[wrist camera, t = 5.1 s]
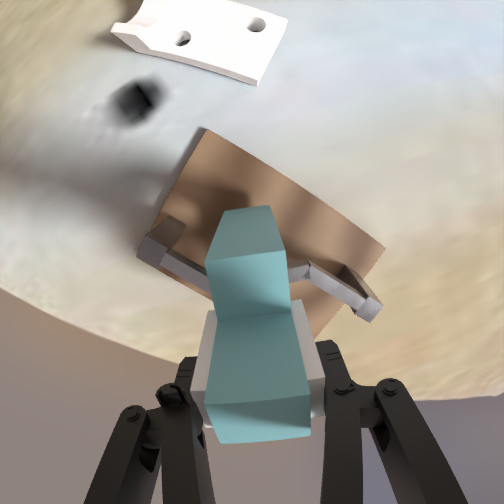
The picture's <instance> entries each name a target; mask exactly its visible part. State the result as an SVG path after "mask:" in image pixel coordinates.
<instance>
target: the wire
mask: <svg viewBox="0 0 504 504" xmlns="http://www.w3.org/2000/svg"><path fill="white" fill-rule="evenodd" d="M186 225H187V224H185V223H183V222H181V221H180V220H178V219H176V218H175V217H173V216H171V215H169V216H167V217H166V218H165V219H164V220H163V221H162V222H160V223H159V224H158V225H157V226H156V227H155V228H154V229H152V230H151V231H150V232H149V233H148V234H147V235H146V236H145V238H144V240H143V242H142V244H141V247H140V249H139V251H138V253H137V255H136V257H138V258H140V259H141V260H143V261H145V262H146V263H148V264H150V265H151V266H153V267H155V268H156V269H158V267H159V266H162V267H164V268H165V269H167V270H169V271H170V272H172V273H174V274H176V275H177V276H179V277H181V278H183V279H184V280H186V281H188V282H190V283H191V284H193V285H195V286H197V287H198V288H200V289H202V290H204V291H206V292H207V293H209V294H211V290H210V285H209V281H208V276H207V272H206V268H204V267H202V266H200V265H199V264H197V263H195V262H194V261H192V260H190V259H188V258H187V257H185V256H183V255H182V254H180V253H178V252H176V251H175V250H173V249H172V248H173V247H174V245H175V244H176V243H177V241H178V240H179V238H180V236H181V234H182V232H183V231H184V229H185V227H186ZM287 270H288V280H289V283H293V282H297V281H302V280H307V281H309V282H310V283H312V284H314V285H315V286H317V287H319V288H320V289H322V290H324V291H325V292H327V293H329V294H330V295H332V296H334V297H335V298H337V299H339V300H341V301H342V302H344V303H346V304H347V305H349V306H350V307H351V309H352V311H353V312H354V314H355V315H357V316H359V317H360V318H362V319H364V320H365V321H367V322H369V323H370V322H371V321H372V320H373V319H374V317H375V316H376V315H377V314H378V313H379V311H380V310H381V309H382V308H383V304H382V303H381V302H380V300H379V299H378V298H377V296H376V295H375V294H374V293H373V291H372V290H371V289H370V288H369V286H368V285H367V284H366V282H365V281H364V280H363V279H362V277H361V276H360V275H359V274H358V273H357V272H355V271H354V270H352V269H351V268H349V267H348V266H347V265H344V267H343V268H342V269H341V271H340V272H339V273H338V275H337V276H336V277H335V276H333V275H332V274H330V273H329V272H327V271H326V270H324V269H322V268H321V267H319V266H318V265H316V264H314V263H313V262H311V261H310V260H308V261H307V260H306V259H303V260H298V261H294V262H289V263H287ZM211 295H212V294H211Z"/></svg>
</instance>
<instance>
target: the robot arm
mask: <svg viewBox="0 0 504 504" xmlns="http://www.w3.org/2000/svg"><path fill="white" fill-rule="evenodd" d="M291 312H292V316H293V320H294V324H295V329H296V333H297V337H298V341H299V346H300V350H301V354H302V359H303V363H304V367H305V372H306V376H307V381H308V385H309V390H310V396H311V418H313V417H319V416H324V412H325V416H326V422H325V443H324V444H325V445H324V460H323V475H322V487H321V497H320V504H363V463H362V438H361V428H369V430H370V433H371V435H372V438H373V440H374V443H375V445H376V447H377V450H378V452H379V455H380V457H381V460H382V463H383V465H384V468H385V471H386V473H387V475H388V478H389V481H390V484H391V486H392V489H393V492H394V494H395V497H396V500H397V503H398V504H468V502H467V500H466V498H465V496H464V494H463V492H462V490H461V488H460V486H459V484H458V481H457V480H456V477H455V476H454V474H453V472H452V470H451V468H450V466H449V464H448V462H447V460H446V458H445V456H444V454H443V452H442V451H441V449H440V447H439V445H438V443H437V441H436V440H435V438H434V436H433V434H432V433H431V431H430V429H429V427H428V425H427V424H426V422H425V420H424V418H423V416H422V415H421V413H420V411H419V410H418V408H417V406H416V404H415V403H414V401H413V399H412V398H411V396H410V394H409V393H408V391H407V389H406V388H405V386H404V384H403V383H402V382H401V381H399V380H397V379H393V378H388V379H384V380H382V381H380V382H379V383H378V384H377V386H361V385H358V384H356V383H355V382H354V381H353V380H351V378H350V376H349V373H348V371H347V368H346V365H345V363H344V360H343V358H342V355H341V353H340V350H339V348H338V345H337V344H336V343H334V342H333V341H332V340H326V341H320V342H315V341H314V338H313V335H312V331H311V328H310V325H309V322H308V319H307V315H306V312H305V309H304V306H303V303H302V300H301V299H299V300H292V301H291ZM217 321H218V320H217V316H216V312H215V310H212V311H208V314H207V318H206V322H205V326H204V331H203V335H202V339H201V344H200V348H199V352H198V356H197V357H185V358H184V359H183V360H182V362H181V363H180V365H179V368H178V372H177V375H176V379H175V382H174V383H169V384H165V385H163V386H161V387H160V388H159V389H158V390H157V392H156V397H157V399H158V401H159V403H160V405H161V407H159V408H156V409H151V410H147V411H145V409H144V408H143V407H142V406H138V405H132V406H129V407H127V408H125V409H124V410H123V411H122V413H121V414H120V417H119V419H118V421H117V423H116V426H115V428H114V430H113V433H112V435H111V437H110V439H109V442H108V444H107V446H106V449H105V451H104V454H103V456H102V458H101V461H100V463H99V466H98V468H97V470H96V473H95V475H94V478H93V480H92V483H91V486H90V488H89V491H88V493H87V496H86V499H85V501H84V504H150V503H151V499H152V495H153V491H154V488H155V484H156V480H157V476H158V472H159V469H160V465H162V493H163V504H216V503H215V498H214V492H213V487H212V481H211V475H210V469H209V462H208V456H207V449H206V441H205V435H204V432H203V430H202V426H203V422H204V424H205V427H213V425H212V423H211V421H210V418H209V416H208V413H207V411H206V409H205V406H204V400H205V394H206V387H207V381H208V375H209V369H210V363H211V357H212V351H213V345H214V339H215V333H216V327H217Z"/></svg>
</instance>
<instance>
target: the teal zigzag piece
mask: <svg viewBox="0 0 504 504" xmlns="http://www.w3.org/2000/svg"><path fill="white" fill-rule="evenodd" d="M204 262H205V267H206V272H207V276H208V281H209V285H210V290H211V294H212V299H213V303H214V307H215V312H216V316H217V320H218V321H217V327H216V333H215V339H214V345H213V351H212V357H211V363H210V369H209V375H208V381H207V387H206V394H205V400H204V406H205V409H206V411H207V413H208V416H209V418H210V421H211V423H212V425H213V428H214V430H215V432H216V435H217V437H218V439H219V441H220V443H221V444H227V443H248V442H261V441H272V440H281V439H289V438H295V437H303V436H309V435H311V396H310V390H309V385H308V381H307V376H306V372H305V367H304V363H303V359H302V354H301V350H300V346H299V341H298V337H297V333H296V329H295V324H294V320H293V316H292V312H291V301H290V290H289V280H288V270H287V260H286V251H285V248H284V245H283V242H282V239H281V236H280V233H279V230H278V227H277V224H276V222H275V219H274V216H273V213H272V210H271V208H270V205H263V206H255V207H248V208H241V209H234V210H227V211H224V213H223V216H222V218H221V220H220V223H219V225H218V228H217V230H216V233H215V235H214V238H213V240H212V243H211V245H210V248H209V250H208V253H207V255H206V258H205V260H204Z"/></svg>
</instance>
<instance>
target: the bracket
mask: <svg viewBox="0 0 504 504" xmlns="http://www.w3.org/2000/svg"><path fill="white" fill-rule="evenodd" d="M287 22H288V19H285V18H282V17H280V16H277V15H274V14H271V13H268V12H265V11H262V10H259V9H256V8H253V7H249V6H246V5H242V4H239V3H235V2H231V1H227V0H144V1H143V3H142V6H141V8H140V9H139V11H138V12H137V14H136V15H135V16H134V17H133V18H132V19H131V20H130V21H129V22H127V23H117V22H115V24H114V26H113V28H112V29H111V31H110V32H112V33H113V34H114V35H116V36H117V37H118V38H120V39H121V40H122V41H124V42H125V43H126V44H127V45H129V46H130V47H131V48H133V49H134V50H135V51H136V52H139V53H144V54H148V55H153V56H158V57H162V58H166V59H170V60H174V61H178V62H182V63H186V64H189V65H193V66H197V67H200V68H203V69H207V70H210V71H213V72H216V73H219V74H222V75H225V76H228V77H231V78H234V79H237V80H240V81H243V82H245V83H248V84H251V85H254V86H256V87H257V85H258V83H259V81H260V79H261V77H262V75H263V73H264V71H265V69H266V67H267V64H268V62H269V60H270V59H271V57H272V55H273V53H274V51H275V49H276V47H277V45H278V43H279V41H280V39H281V37H282V36H283V34H284V31H285V28H286V25H287ZM252 30H258V31H261V32H251V31H252ZM185 40H190V42H189V43H188V44H186V45H184V46H179V45H180V43H181V42H183V41H185Z"/></svg>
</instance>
